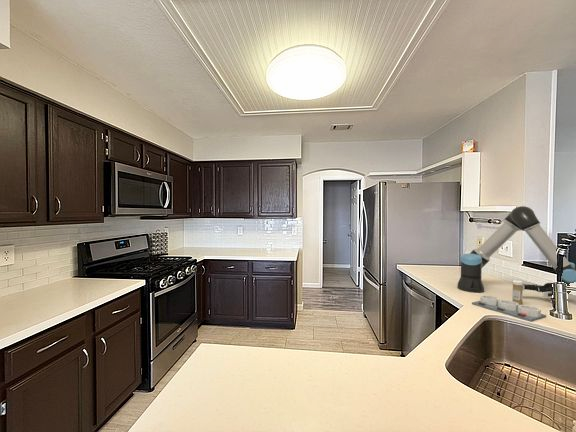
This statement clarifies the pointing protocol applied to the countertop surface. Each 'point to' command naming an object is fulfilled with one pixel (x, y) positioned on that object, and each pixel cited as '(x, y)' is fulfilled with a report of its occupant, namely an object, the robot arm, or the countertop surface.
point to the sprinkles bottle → (517, 291)
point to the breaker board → (508, 312)
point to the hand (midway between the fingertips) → (528, 291)
